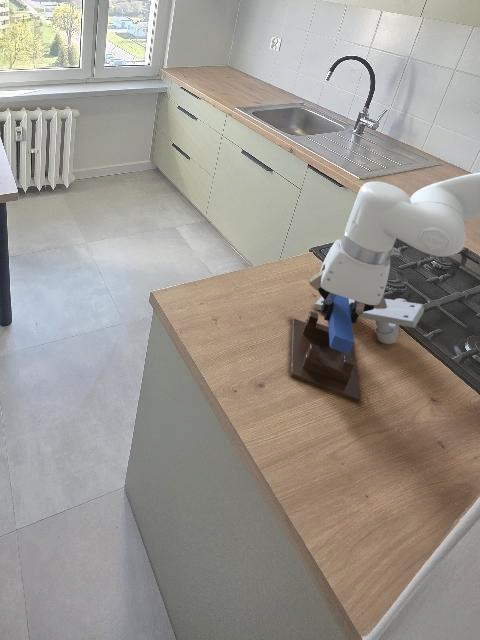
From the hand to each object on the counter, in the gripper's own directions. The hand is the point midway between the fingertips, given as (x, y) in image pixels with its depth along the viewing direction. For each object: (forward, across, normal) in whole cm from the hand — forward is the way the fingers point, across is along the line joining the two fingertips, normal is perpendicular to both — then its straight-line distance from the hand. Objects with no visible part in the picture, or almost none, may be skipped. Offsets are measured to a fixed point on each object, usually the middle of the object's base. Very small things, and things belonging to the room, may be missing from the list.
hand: (336, 318), depth 83 cm
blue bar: (0, 0, 0) cm, 0 cm away
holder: (+12, 0, 0) cm, 12 cm away
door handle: (+12, -10, -18) cm, 24 cm away
